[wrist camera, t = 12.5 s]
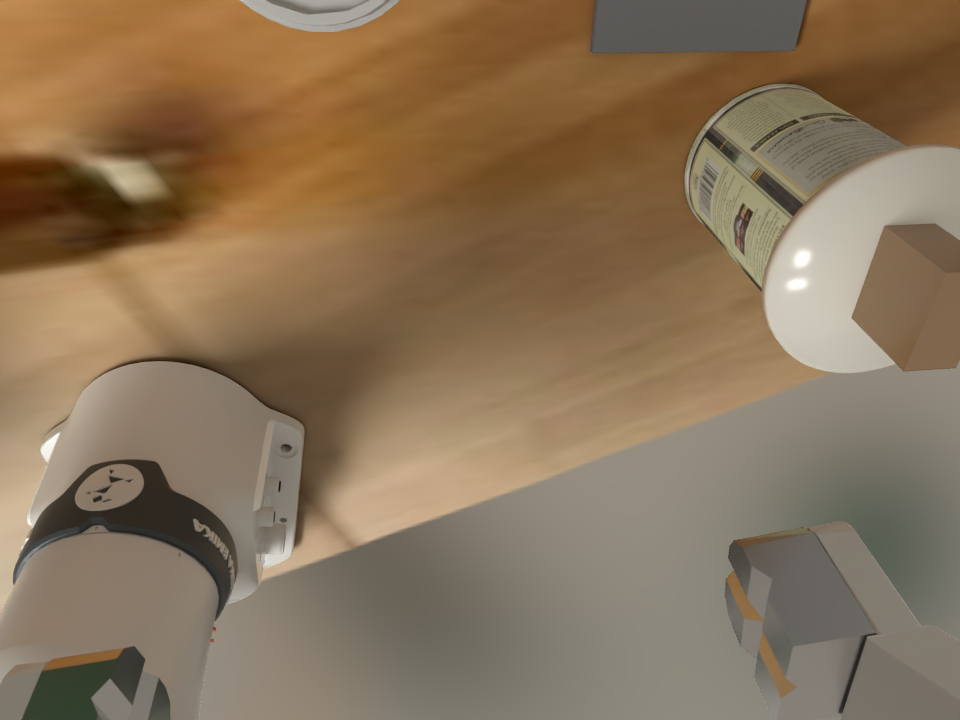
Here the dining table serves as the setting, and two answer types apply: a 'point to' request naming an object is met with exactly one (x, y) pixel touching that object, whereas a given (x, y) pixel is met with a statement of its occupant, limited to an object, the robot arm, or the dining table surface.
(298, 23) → the disposable coffee cup
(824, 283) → the lid
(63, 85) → the dining table surface
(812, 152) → the coffee can
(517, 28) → the dining table surface
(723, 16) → the mat
